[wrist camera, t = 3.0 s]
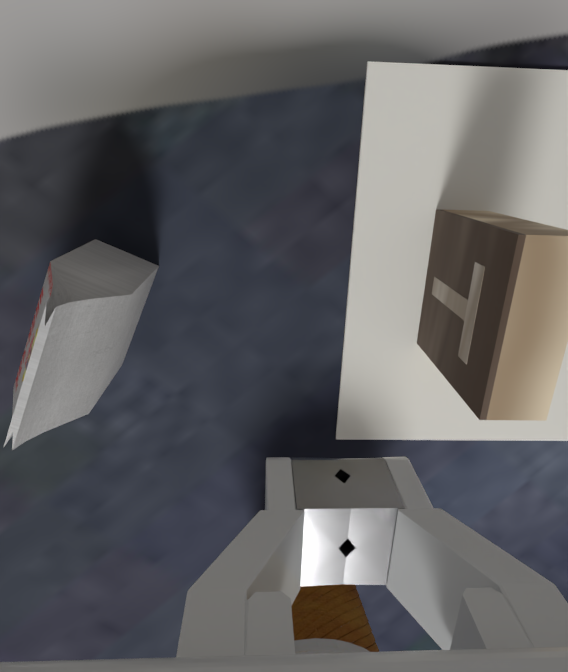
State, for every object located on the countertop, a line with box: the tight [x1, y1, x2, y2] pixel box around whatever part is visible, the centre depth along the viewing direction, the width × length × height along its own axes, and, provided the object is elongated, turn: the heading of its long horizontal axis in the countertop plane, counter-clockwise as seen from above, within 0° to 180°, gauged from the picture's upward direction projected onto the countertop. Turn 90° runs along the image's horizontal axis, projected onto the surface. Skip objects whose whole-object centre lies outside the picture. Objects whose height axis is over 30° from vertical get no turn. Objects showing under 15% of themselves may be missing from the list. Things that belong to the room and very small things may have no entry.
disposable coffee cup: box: [291, 584, 379, 654], centre depth 29 cm, size 10×10×12 cm
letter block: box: [417, 209, 568, 421], centre depth 23 cm, size 3×8×9 cm, turn 178°
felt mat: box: [336, 61, 568, 441], centre depth 28 cm, size 20×22×1 cm
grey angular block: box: [3, 239, 159, 450], centre depth 23 cm, size 4×7×10 cm, turn 155°
